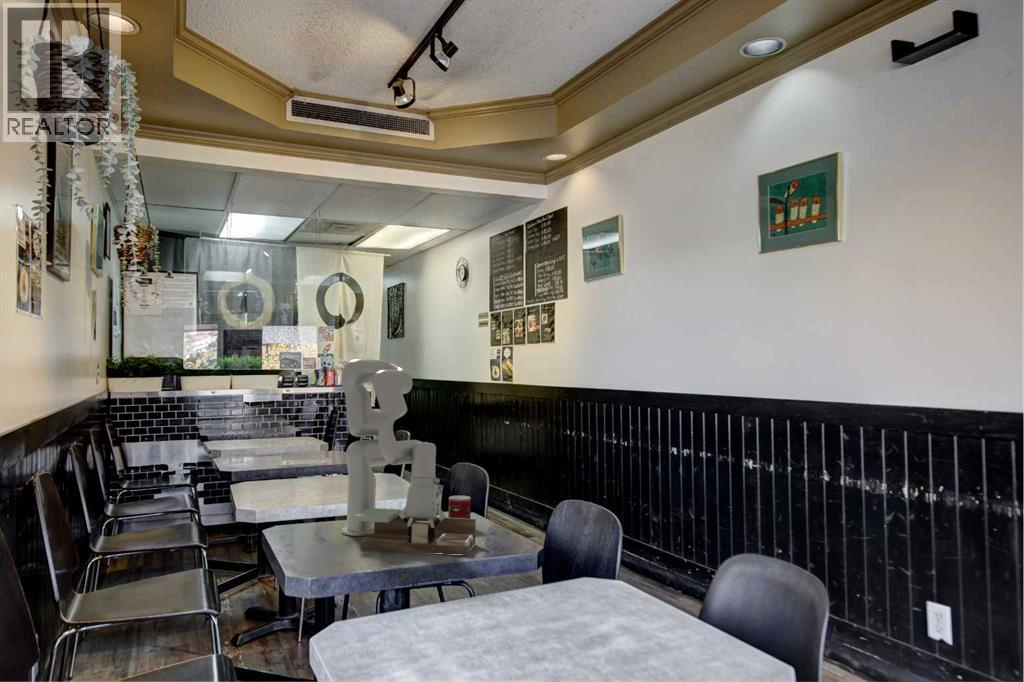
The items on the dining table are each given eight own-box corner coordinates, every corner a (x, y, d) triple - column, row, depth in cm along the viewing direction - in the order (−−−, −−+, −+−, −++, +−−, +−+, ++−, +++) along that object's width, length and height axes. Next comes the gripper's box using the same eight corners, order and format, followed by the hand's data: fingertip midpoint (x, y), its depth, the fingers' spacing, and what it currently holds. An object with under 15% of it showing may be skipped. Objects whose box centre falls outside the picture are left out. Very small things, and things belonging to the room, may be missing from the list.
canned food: (445, 526, 239) (446, 496, 240) (465, 524, 243) (466, 494, 243) (452, 531, 232) (453, 499, 233) (473, 529, 236) (474, 498, 236)
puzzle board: (374, 538, 219) (375, 513, 219) (475, 544, 214) (475, 518, 215) (360, 549, 205) (360, 522, 205) (466, 556, 201) (467, 528, 201)
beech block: (415, 545, 211) (416, 520, 212) (430, 546, 211) (431, 521, 211) (411, 549, 206) (412, 524, 207) (426, 550, 206) (427, 524, 206)
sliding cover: (368, 512, 220) (368, 507, 220) (400, 514, 218) (400, 509, 218) (354, 520, 207) (354, 515, 207) (388, 522, 205) (388, 517, 205)
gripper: (452, 481, 212) (450, 537, 211) (400, 478, 214) (398, 534, 213) (446, 484, 205) (445, 543, 204) (393, 482, 207) (391, 540, 206)
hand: (421, 538), depth 209 cm, fingers open, 5 cm apart
